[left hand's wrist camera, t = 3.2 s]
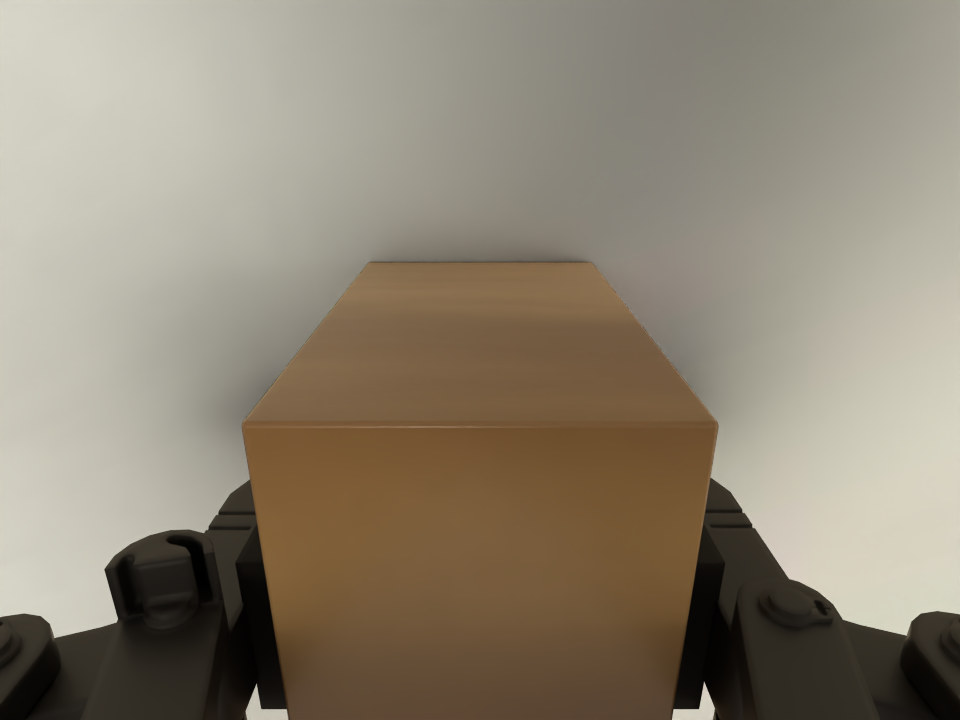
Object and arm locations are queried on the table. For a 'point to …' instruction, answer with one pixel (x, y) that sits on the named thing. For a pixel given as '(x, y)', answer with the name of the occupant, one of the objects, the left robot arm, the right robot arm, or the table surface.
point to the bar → (480, 500)
